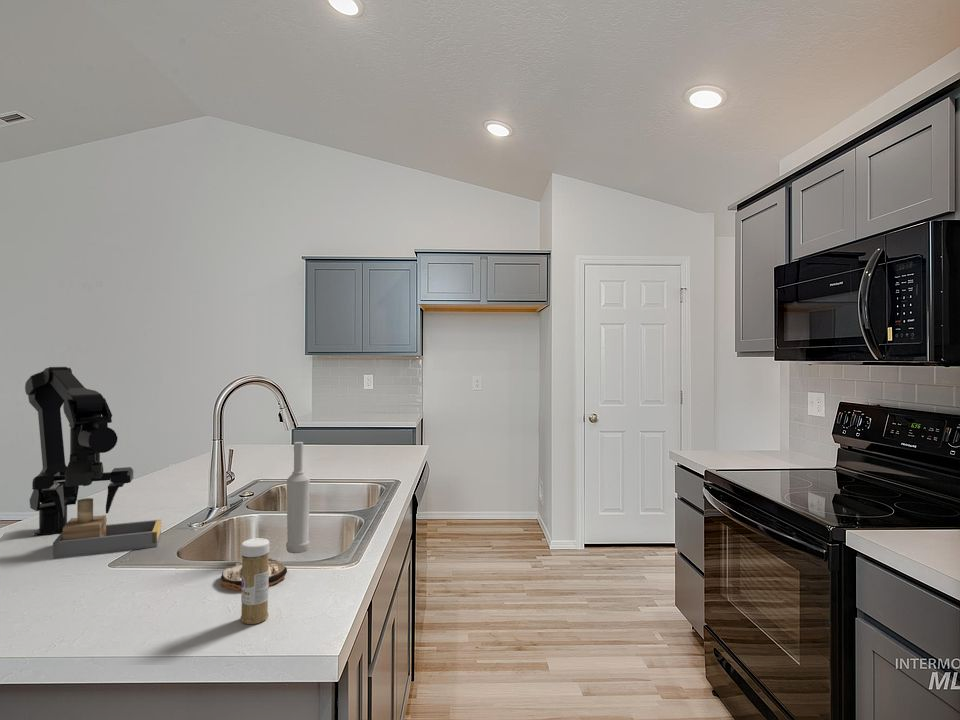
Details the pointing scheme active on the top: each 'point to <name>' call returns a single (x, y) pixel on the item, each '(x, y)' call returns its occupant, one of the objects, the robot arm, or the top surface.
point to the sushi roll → (234, 575)
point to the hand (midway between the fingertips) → (85, 515)
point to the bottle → (298, 505)
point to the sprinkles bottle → (254, 580)
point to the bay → (111, 540)
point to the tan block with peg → (85, 522)
